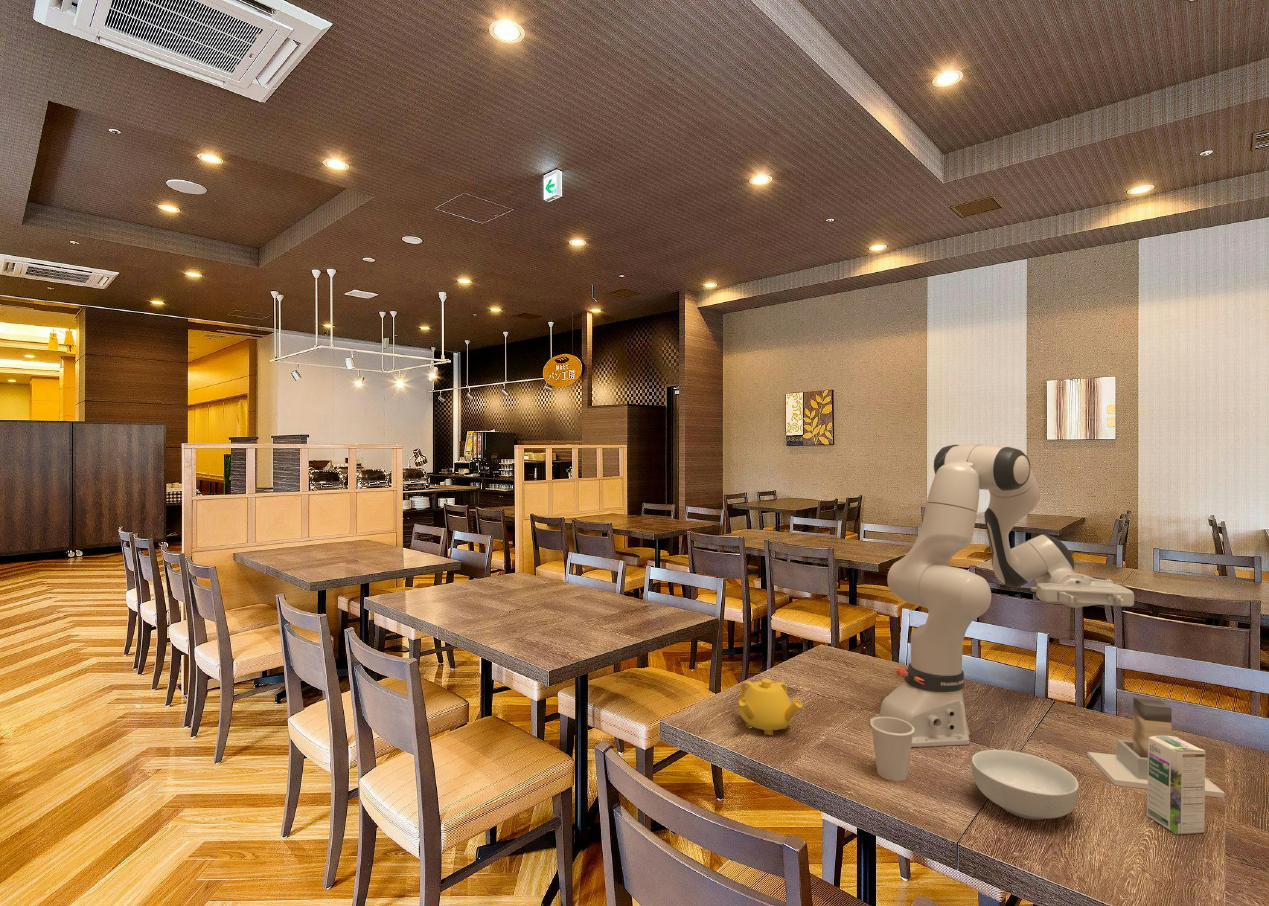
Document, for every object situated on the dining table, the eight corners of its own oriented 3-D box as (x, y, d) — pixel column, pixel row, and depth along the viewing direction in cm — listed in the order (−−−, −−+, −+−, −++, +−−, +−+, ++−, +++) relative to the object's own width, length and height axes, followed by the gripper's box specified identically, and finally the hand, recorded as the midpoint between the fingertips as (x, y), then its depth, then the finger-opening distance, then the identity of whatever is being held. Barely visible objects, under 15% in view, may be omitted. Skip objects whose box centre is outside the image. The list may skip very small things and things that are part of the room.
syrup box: (1145, 816, 112) (1145, 735, 112) (1175, 814, 113) (1175, 734, 113) (1175, 835, 107) (1175, 750, 107) (1206, 833, 107) (1207, 749, 107)
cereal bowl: (1102, 826, 109) (1102, 786, 109) (1028, 843, 105) (1029, 801, 105) (1018, 778, 126) (1018, 743, 126) (951, 790, 121) (951, 754, 121)
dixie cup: (923, 780, 124) (924, 730, 124) (890, 788, 121) (890, 736, 122) (893, 761, 132) (893, 714, 132) (861, 767, 129) (861, 719, 129)
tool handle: (1171, 778, 124) (1171, 707, 124) (1144, 775, 125) (1144, 705, 125) (1158, 767, 128) (1158, 699, 128) (1133, 764, 129) (1133, 696, 129)
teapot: (739, 739, 142) (739, 690, 142) (733, 714, 155) (733, 670, 155) (803, 742, 141) (803, 692, 141) (791, 716, 155) (792, 671, 155)
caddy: (1224, 798, 118) (1224, 772, 118) (1114, 785, 123) (1114, 759, 123) (1186, 767, 130) (1186, 743, 130) (1087, 756, 134) (1087, 733, 134)
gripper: (1027, 575, 165) (1047, 586, 152) (1117, 579, 160) (1146, 590, 147) (1027, 599, 165) (1047, 611, 152) (1117, 604, 160) (1146, 617, 147)
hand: (1097, 601), depth 149 cm, fingers open, 8 cm apart
